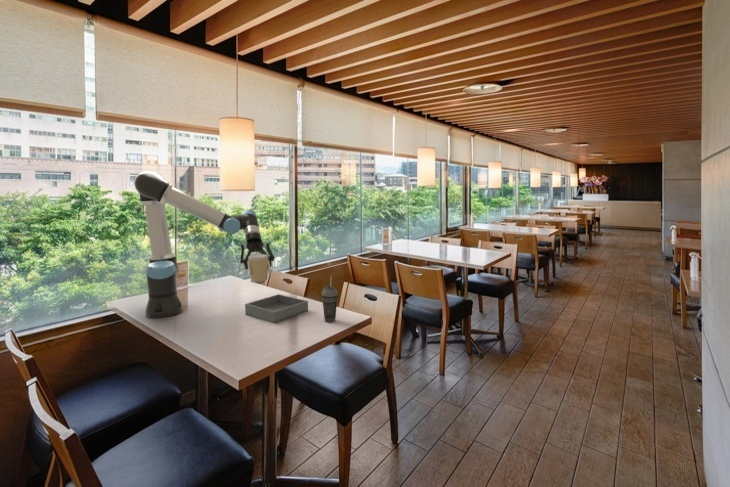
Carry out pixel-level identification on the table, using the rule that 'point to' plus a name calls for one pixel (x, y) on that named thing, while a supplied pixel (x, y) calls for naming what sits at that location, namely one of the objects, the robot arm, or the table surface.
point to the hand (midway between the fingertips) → (260, 273)
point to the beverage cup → (329, 302)
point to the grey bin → (276, 308)
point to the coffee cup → (258, 267)
